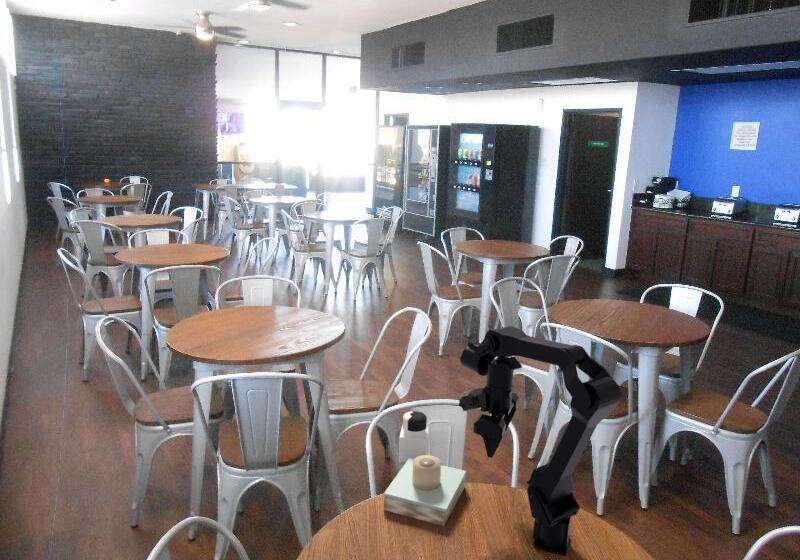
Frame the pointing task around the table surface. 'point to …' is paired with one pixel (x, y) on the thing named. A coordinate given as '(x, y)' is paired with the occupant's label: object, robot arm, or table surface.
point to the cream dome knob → (426, 472)
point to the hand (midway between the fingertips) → (494, 447)
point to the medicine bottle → (413, 436)
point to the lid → (429, 499)
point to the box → (422, 509)
